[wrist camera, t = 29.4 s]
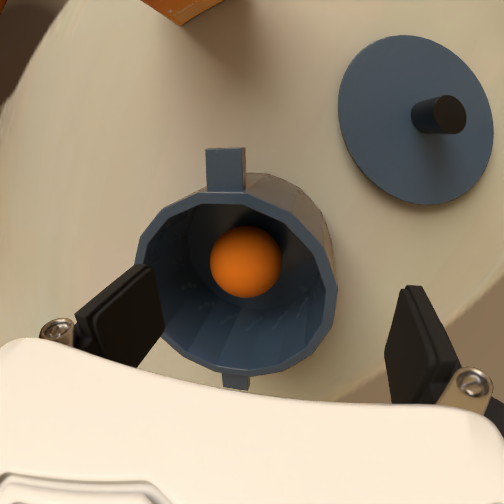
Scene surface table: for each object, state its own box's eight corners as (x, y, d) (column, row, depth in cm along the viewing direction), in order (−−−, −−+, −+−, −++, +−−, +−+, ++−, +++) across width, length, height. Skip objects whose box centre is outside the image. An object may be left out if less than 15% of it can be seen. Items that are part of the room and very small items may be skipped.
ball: (287, 219, 28) (275, 241, 22) (285, 281, 30) (273, 315, 24) (222, 215, 29) (195, 236, 23) (225, 275, 31) (201, 305, 26)
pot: (335, 146, 25) (348, 151, 16) (320, 337, 32) (317, 403, 23) (177, 147, 28) (117, 156, 18) (193, 323, 35) (158, 379, 26)
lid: (483, 60, 17) (518, 48, 11) (481, 210, 23) (515, 230, 17) (333, 28, 20) (338, -1, 14) (335, 194, 26) (341, 212, 20)
